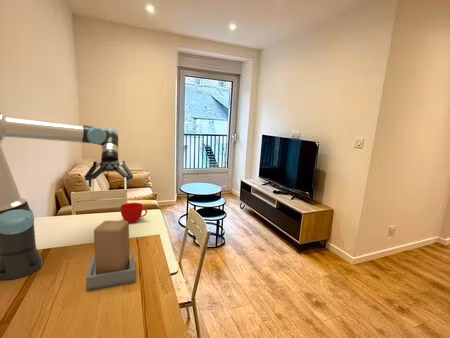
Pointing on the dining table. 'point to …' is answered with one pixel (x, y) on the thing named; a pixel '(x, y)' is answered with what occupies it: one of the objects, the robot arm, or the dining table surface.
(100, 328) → the dining table surface
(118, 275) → the end cap cradle
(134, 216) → the ceramic cup
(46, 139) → the robot arm
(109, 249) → the wooden block
